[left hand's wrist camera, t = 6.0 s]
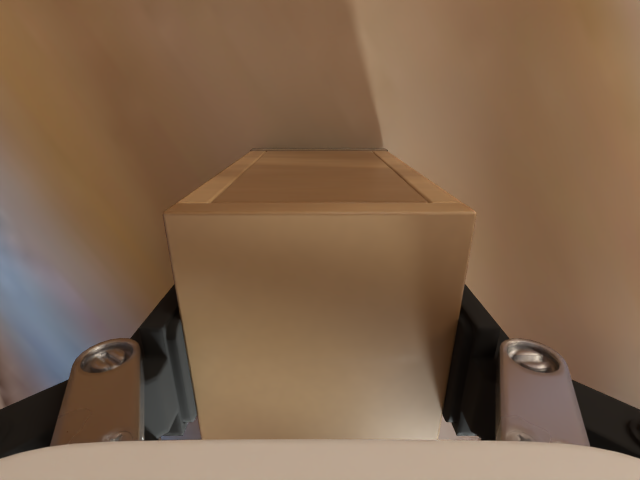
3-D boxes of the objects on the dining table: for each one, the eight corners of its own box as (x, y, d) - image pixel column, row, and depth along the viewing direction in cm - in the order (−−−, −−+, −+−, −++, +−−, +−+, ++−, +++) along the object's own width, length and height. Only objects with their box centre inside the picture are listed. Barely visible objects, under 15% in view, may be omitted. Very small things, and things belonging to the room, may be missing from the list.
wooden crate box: (365, 438, 24) (399, 673, 14) (272, 438, 24) (240, 673, 14) (385, 148, 17) (479, 211, 7) (252, 148, 17) (160, 211, 7)
